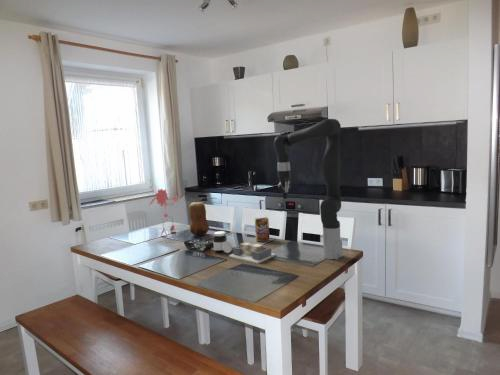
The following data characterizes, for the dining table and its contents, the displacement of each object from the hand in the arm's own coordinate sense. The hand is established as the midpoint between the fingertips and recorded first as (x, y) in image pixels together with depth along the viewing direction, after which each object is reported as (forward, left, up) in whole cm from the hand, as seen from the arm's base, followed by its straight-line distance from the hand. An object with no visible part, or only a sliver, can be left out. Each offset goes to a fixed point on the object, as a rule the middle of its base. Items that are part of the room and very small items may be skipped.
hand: (285, 198), depth 212 cm
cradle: (+10, +22, -31) cm, 39 cm away
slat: (+10, +22, -30) cm, 39 cm away
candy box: (+25, -6, -31) cm, 40 cm away
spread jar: (+32, +24, -31) cm, 51 cm away
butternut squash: (+74, +7, -31) cm, 81 cm away
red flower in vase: (+103, +17, -31) cm, 109 cm away
